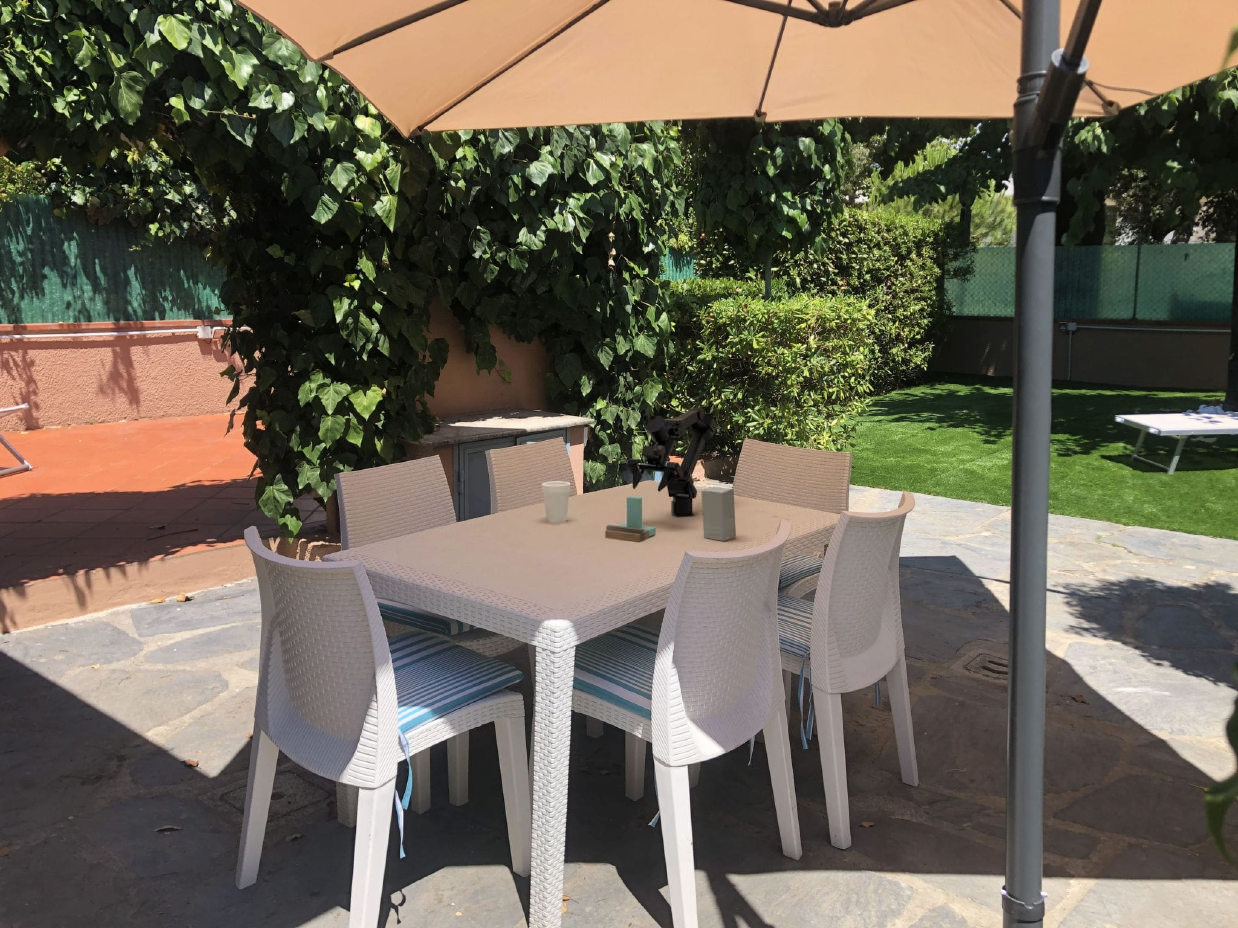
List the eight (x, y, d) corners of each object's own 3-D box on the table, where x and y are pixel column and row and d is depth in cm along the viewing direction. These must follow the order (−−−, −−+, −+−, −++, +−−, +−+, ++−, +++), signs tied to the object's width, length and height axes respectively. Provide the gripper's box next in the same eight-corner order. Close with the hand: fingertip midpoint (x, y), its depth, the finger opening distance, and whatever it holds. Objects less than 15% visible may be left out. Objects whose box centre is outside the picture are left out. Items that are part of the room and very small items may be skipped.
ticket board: (615, 533, 315) (615, 522, 315) (649, 537, 309) (649, 526, 308) (604, 537, 310) (604, 526, 309) (639, 542, 303) (639, 531, 303)
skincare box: (736, 538, 307) (736, 488, 305) (722, 542, 302) (722, 491, 300) (714, 534, 313) (715, 485, 310) (700, 538, 308) (700, 488, 305)
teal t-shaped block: (623, 529, 319) (622, 494, 317) (655, 533, 313) (655, 497, 311) (616, 532, 315) (616, 496, 313) (649, 536, 309) (649, 500, 307)
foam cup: (575, 519, 335) (575, 482, 333) (562, 525, 327) (562, 487, 325) (551, 517, 339) (550, 480, 337) (537, 523, 331) (537, 485, 329)
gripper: (628, 434, 324) (611, 472, 317) (679, 437, 315) (663, 477, 307) (640, 454, 332) (624, 492, 324) (690, 458, 323) (674, 497, 315)
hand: (645, 489), depth 318 cm, fingers open, 9 cm apart
